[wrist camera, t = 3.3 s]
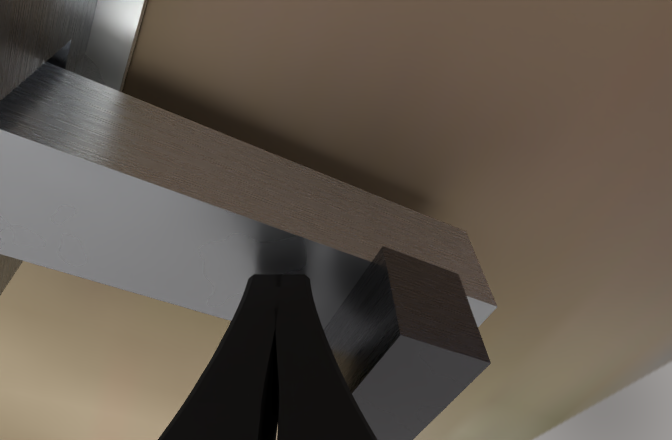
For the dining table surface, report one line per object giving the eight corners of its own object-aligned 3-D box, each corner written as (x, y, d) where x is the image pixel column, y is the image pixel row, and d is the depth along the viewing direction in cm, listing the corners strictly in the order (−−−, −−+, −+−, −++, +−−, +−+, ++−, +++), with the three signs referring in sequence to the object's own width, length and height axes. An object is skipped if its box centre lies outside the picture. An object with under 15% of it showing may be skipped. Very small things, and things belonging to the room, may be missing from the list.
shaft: (475, 218, 15) (551, 382, 10) (403, 309, 17) (439, 478, 12) (-422, -156, 9) (-1149, -151, 4) (-365, 54, 11) (-824, 201, 6)
